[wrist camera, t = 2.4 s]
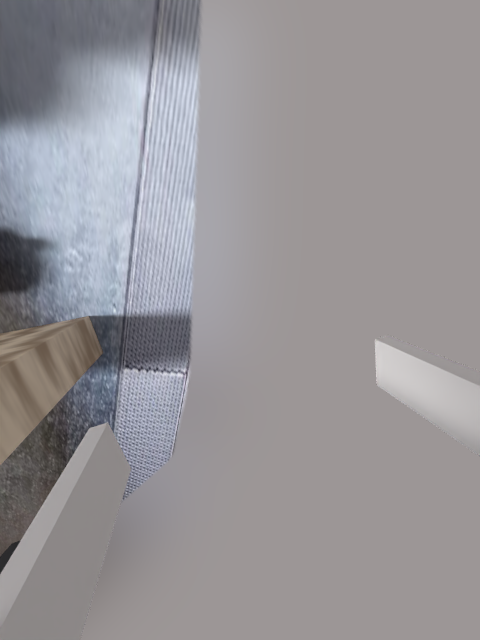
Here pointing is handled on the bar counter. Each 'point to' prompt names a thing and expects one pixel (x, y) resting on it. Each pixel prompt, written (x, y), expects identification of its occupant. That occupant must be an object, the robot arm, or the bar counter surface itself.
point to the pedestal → (40, 373)
